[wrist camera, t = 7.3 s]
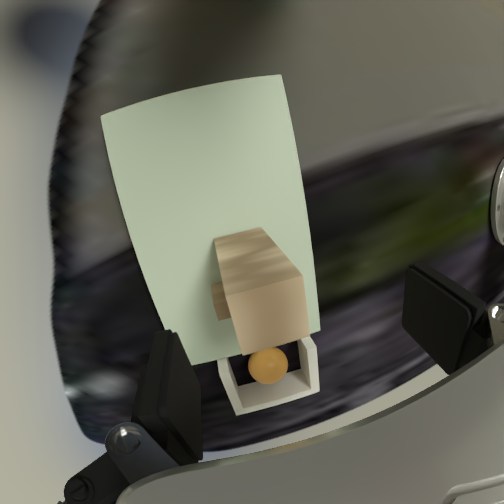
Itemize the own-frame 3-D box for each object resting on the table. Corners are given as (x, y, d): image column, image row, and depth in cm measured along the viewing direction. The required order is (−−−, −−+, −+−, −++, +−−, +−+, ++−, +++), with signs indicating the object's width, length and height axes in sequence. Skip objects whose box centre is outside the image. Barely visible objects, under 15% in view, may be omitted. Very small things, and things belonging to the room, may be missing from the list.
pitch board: (275, 79, 17) (281, 74, 16) (314, 321, 24) (320, 330, 23) (106, 118, 16) (100, 115, 14) (182, 356, 23) (182, 367, 22)
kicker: (275, 223, 19) (325, 268, 11) (285, 281, 20) (330, 347, 13) (198, 242, 18) (200, 302, 11) (215, 299, 20) (227, 378, 12)
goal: (304, 327, 24) (316, 346, 21) (309, 371, 26) (319, 391, 23) (216, 351, 23) (219, 374, 21) (232, 393, 25) (236, 415, 23)
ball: (279, 333, 24) (291, 361, 21) (283, 357, 25) (294, 384, 22) (241, 343, 23) (249, 373, 20) (248, 367, 25) (256, 395, 22)
